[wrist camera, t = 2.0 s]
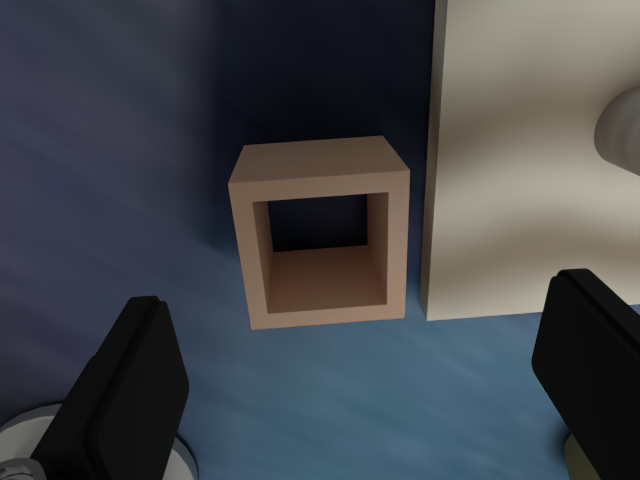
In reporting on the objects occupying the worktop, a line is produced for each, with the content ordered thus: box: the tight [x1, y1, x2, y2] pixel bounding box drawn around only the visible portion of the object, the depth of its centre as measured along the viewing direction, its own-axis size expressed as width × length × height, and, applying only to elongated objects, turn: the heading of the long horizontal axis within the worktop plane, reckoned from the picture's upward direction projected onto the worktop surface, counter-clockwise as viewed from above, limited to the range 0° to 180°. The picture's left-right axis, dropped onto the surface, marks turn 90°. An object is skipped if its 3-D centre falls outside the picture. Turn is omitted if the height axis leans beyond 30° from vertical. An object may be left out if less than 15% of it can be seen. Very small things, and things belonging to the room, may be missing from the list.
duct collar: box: [228, 136, 410, 330], centre depth 18 cm, size 6×6×5 cm
